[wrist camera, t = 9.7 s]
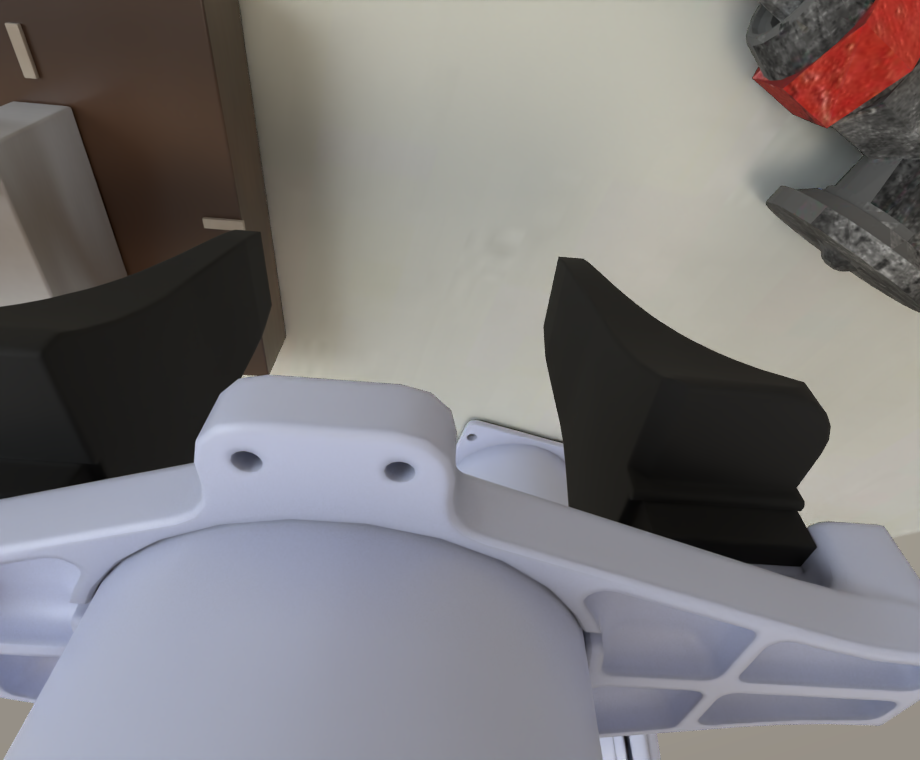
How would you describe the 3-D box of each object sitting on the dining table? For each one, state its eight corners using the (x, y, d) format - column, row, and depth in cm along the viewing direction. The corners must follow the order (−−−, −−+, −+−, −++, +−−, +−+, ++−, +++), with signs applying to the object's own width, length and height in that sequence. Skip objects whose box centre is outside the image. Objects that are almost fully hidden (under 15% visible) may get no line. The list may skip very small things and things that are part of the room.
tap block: (288, 337, 26) (270, 379, 24) (46, 318, 26) (2, 360, 24) (238, -26, 18) (200, -17, 15) (-133, -64, 17) (-233, -61, 15)
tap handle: (136, 299, 22) (77, 367, 18) (89, 296, 22) (21, 363, 18) (71, 105, 17) (-22, 149, 14) (11, 100, 17) (-97, 143, 14)
